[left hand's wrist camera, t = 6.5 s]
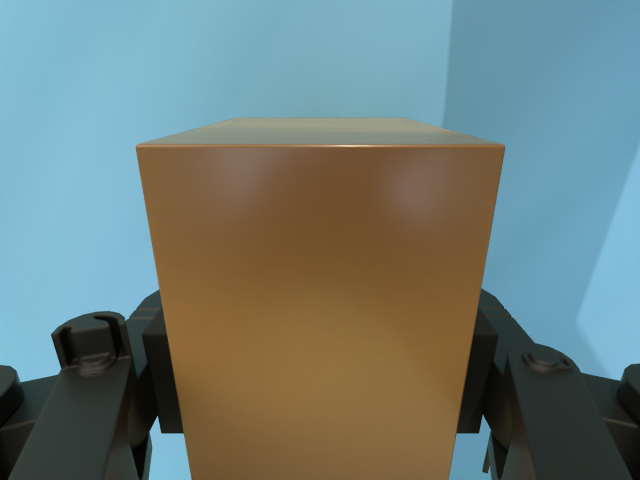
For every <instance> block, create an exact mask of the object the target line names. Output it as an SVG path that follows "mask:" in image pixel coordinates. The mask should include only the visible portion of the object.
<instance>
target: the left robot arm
mask: <svg viewBox="0 0 640 480" xmlns="http://www.w3.org/2000/svg"><path fill="white" fill-rule="evenodd" d="M51 336H52V340H53V343H54V346H55V350H56V353H57V356H58V359H59V363H60V366H61V371H60V373H59V374H58V375H55V376H50V377H45V378H40V379H36V380H31V381H26V382H21V383H20V380H19V377H18V374H17V371H16V370H15V369H13V368H12V367H11V366H4V365H0V480H148V479H149V471H150V462H151V454H152V442H151V437H150V432H149V431H150V429H151V427H152V426H153V424H154V422H155V420H156V418H157V416H158V419H159V424H160V429H161V433H184V431H183V425H182V420H181V414H180V408H179V402H178V396H177V390H176V384H175V378H174V372H173V366H172V360H171V354H170V348H169V342H168V336H167V331H166V325H165V319H164V313H163V307H162V301H161V295H160V289H159V290H158V291H156V292H154V293H153V294H151V295H150V296H148V297H146V298H145V299H144V300H143V301H142V303H141V304H140V305H139V306H138V307H137V310H135V311H134V312H133V313H132V314H131V316H130V317H129V319H127V320H126V321H125V317H124V316H122V315H121V314H119V313H116V312H111V311H102V312H93V313H89V314H85V315H81V316H79V317H76V318H74V319H71V320H69V321H67V322H65V323H64V324H62V325H61V326H59V327H58V328H57V329H56V330H55V331H54V332H53V333H52V334H51ZM482 415H484V417H485V419H486V421H487V423H488V425H489V427H490V429H491V432H490V437H489V441H488V446H487V451H486V455H485V460H484V465H483V472H484V473H488V470H489V466H490V469H491V478H492V480H640V364H631V365H630V366H628V367H627V368H625V370H624V373H623V375H622V378H621V381H618V380H613V379H608V378H603V377H598V376H594V375H589V374H585V373H581V372H580V370H579V368H578V367H577V365H576V364H575V363H574V362H573V360H571V359H570V358H569V357H567V356H566V355H564V354H563V353H562V352H559V351H557V350H555V349H553V348H551V347H548V346H544V345H540V344H536V343H534V342H533V340H532V339H531V338H530V337H529V336H528V335H527V333H526V332H525V331H524V330H523V329H522V328H521V326H520V325H519V324H518V323H517V322H516V320H515V319H514V318H511V315H510V313H509V312H508V311H507V310H506V309H504V306H503V305H502V304H501V303H500V302H499V301H498V299H497V298H496V297H495V296H493V295H491V294H490V293H488V292H486V291H485V290H483V289H482V288H481V292H480V298H479V304H478V310H477V315H476V321H475V327H474V333H473V339H472V345H471V351H470V356H469V362H468V368H467V374H466V380H465V386H464V392H463V397H462V403H461V409H460V415H459V421H458V427H457V433H479V430H480V425H481V420H482Z"/></svg>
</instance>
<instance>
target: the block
mask: <svg viewBox="0 0 640 480" xmlns="http://www.w3.org/2000/svg"><path fill="white" fill-rule="evenodd" d="M504 151H505V146H504V145H502V144H499V143H496V142H492V141H488V140H485V139H481V138H477V137H473V136H470V135H466V134H462V133H459V132H455V131H451V130H447V129H444V128H440V127H436V126H433V125H429V124H425V123H422V122H418V121H414V120H410V119H407V118H234V119H230V120H226V121H222V122H219V123H215V124H211V125H207V126H204V127H200V128H196V129H192V130H189V131H185V132H181V133H178V134H174V135H170V136H166V137H163V138H159V139H155V140H151V141H148V142H144V143H140V144H138V145H136V153H137V158H138V164H139V170H140V176H141V182H142V188H143V194H144V200H145V206H146V212H147V218H148V224H149V230H150V236H151V242H152V247H153V253H154V259H155V265H156V271H157V277H158V283H159V289H160V295H161V301H162V307H163V313H164V319H165V325H166V331H167V336H168V342H169V348H170V354H171V360H172V366H173V372H174V378H175V384H176V390H177V396H178V402H179V408H180V414H181V420H182V425H183V431H184V437H185V443H186V449H187V455H188V461H189V467H190V473H191V479H192V480H448V479H449V474H450V468H451V462H452V456H453V450H454V444H455V438H456V433H457V427H458V421H459V415H460V409H461V403H462V397H463V392H464V386H465V380H466V374H467V368H468V362H469V356H470V351H471V345H472V339H473V333H474V327H475V321H476V315H477V310H478V304H479V298H480V292H481V286H482V280H483V274H484V268H485V263H486V257H487V251H488V245H489V239H490V233H491V227H492V222H493V216H494V210H495V204H496V198H497V192H498V186H499V181H500V175H501V169H502V163H503V157H504Z"/></svg>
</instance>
